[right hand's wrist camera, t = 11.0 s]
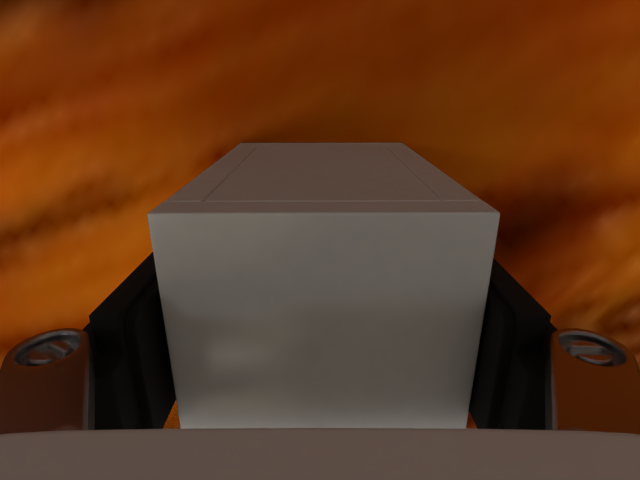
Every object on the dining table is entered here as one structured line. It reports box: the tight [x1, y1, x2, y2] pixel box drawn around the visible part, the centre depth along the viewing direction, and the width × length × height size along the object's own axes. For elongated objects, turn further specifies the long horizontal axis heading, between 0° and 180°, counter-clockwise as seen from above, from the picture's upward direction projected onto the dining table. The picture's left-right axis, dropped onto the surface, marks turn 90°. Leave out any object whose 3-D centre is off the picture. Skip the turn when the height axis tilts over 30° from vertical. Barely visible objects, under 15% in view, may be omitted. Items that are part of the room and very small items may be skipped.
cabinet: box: [147, 143, 500, 429], centre depth 15 cm, size 16×6×9 cm, turn 0°
